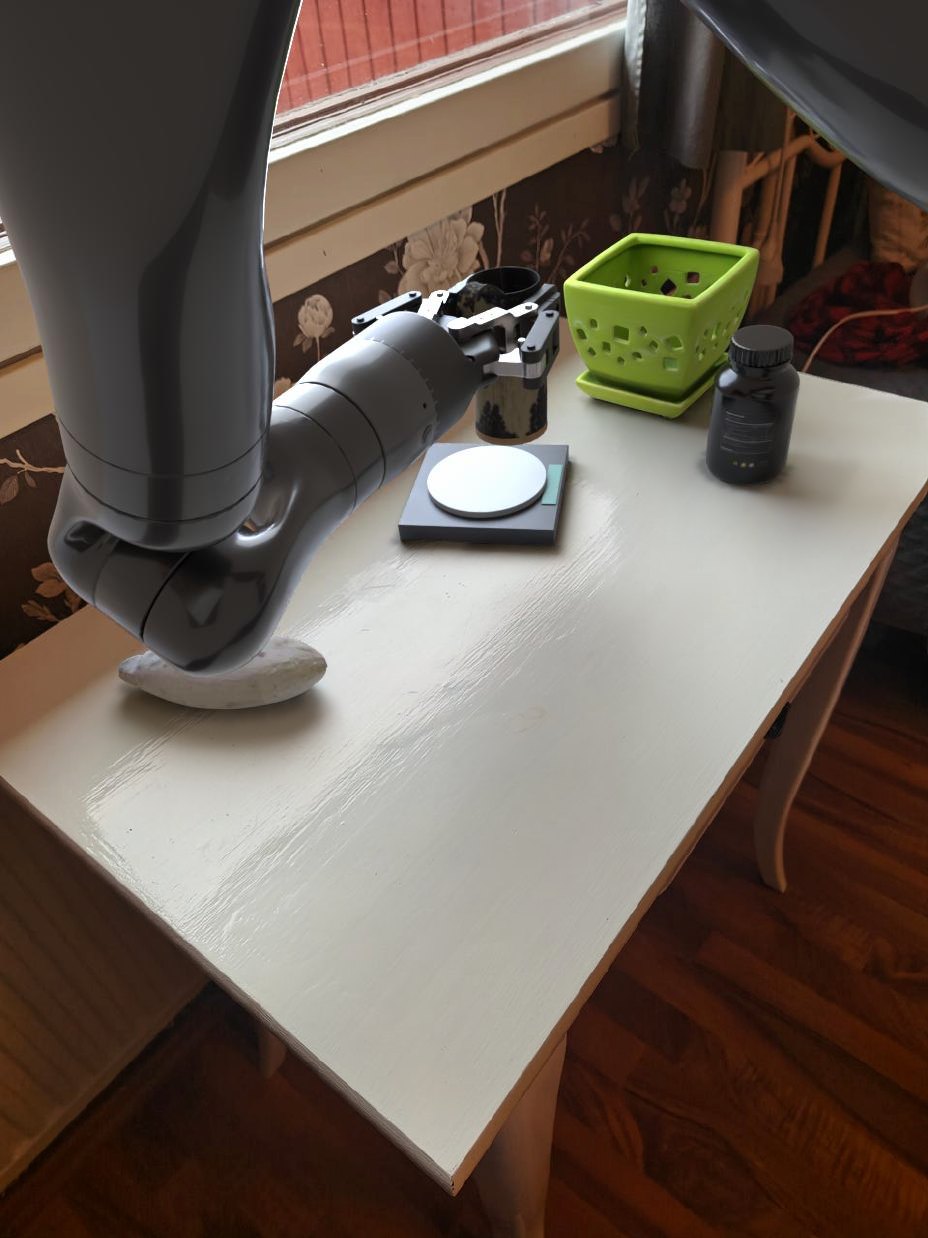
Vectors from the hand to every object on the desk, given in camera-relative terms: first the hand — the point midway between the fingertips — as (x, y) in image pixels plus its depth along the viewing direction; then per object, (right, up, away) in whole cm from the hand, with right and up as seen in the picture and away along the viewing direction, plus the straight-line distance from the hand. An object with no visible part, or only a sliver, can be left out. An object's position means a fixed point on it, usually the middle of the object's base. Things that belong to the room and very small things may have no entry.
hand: (514, 293), depth 60 cm
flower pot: (+16, +1, +28) cm, 32 cm away
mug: (0, -9, +5) cm, 10 cm away
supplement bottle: (+21, -9, +17) cm, 29 cm away
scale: (-1, -12, +16) cm, 20 cm away
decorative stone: (-20, -27, +2) cm, 34 cm away
